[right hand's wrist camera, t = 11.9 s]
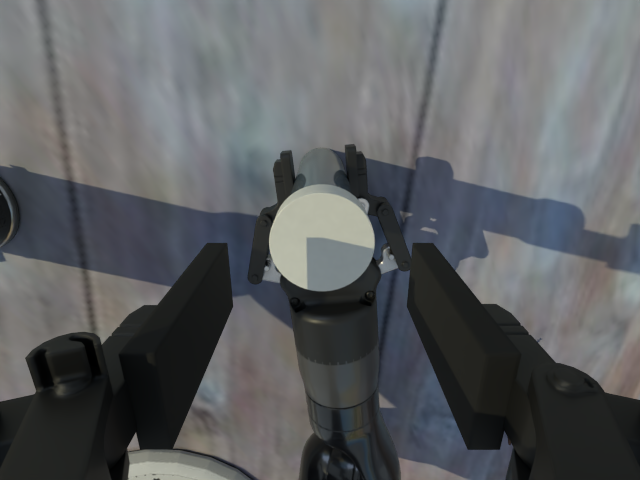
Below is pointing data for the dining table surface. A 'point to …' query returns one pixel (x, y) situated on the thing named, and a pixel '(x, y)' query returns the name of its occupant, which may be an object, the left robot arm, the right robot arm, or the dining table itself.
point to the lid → (322, 238)
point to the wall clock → (179, 466)
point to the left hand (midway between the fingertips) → (317, 149)
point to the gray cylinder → (321, 170)
